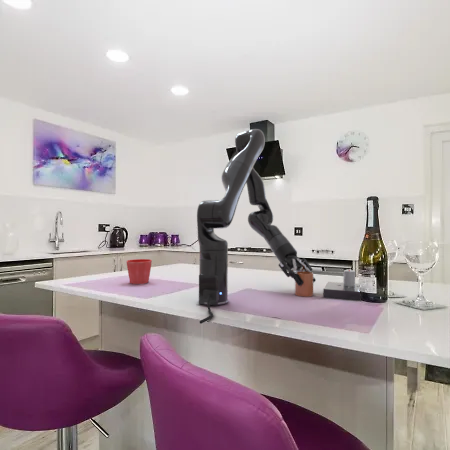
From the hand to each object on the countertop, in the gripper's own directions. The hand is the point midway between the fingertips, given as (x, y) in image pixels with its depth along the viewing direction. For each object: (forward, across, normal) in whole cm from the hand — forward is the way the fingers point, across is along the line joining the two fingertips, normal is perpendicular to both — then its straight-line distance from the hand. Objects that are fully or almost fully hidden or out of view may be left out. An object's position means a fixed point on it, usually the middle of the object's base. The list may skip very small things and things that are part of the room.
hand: (307, 283), depth 119 cm
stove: (+8, +11, -2) cm, 14 cm away
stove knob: (+7, +14, -5) cm, 16 cm away
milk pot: (+2, 0, +4) cm, 5 cm away
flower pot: (-41, -35, +47) cm, 72 cm away
